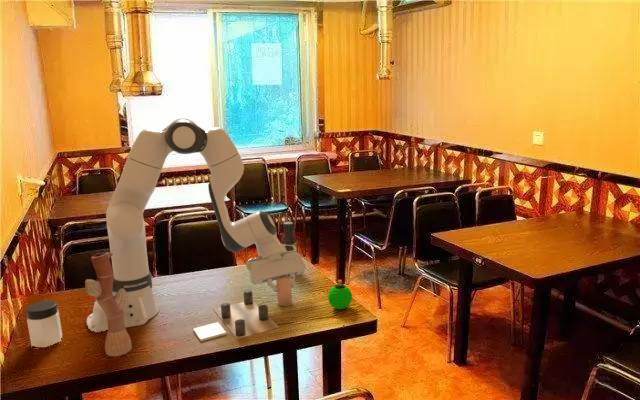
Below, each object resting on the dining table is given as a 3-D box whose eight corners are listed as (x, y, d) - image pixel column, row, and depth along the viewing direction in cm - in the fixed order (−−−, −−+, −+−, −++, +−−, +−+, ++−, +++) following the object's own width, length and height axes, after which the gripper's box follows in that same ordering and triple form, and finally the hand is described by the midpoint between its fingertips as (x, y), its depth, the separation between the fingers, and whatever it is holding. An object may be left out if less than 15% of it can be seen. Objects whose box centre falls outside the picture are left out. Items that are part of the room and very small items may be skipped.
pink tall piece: (133, 341, 154) (121, 247, 147) (134, 352, 148) (122, 254, 141) (95, 349, 151) (81, 252, 144) (95, 361, 144) (80, 260, 137)
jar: (56, 332, 161) (51, 297, 159) (68, 340, 156) (62, 304, 154) (26, 344, 155) (19, 307, 152) (37, 352, 150) (31, 314, 147)
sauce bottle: (295, 273, 205) (293, 225, 201) (280, 272, 206) (278, 225, 202) (299, 267, 211) (297, 221, 207) (285, 266, 213) (282, 220, 208)
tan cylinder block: (281, 307, 174) (280, 282, 172) (275, 302, 178) (273, 278, 176) (294, 304, 176) (293, 279, 174) (288, 299, 181) (286, 275, 179)
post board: (236, 340, 154) (235, 325, 153) (213, 310, 175) (212, 297, 173) (279, 328, 160) (278, 314, 159) (252, 301, 181) (251, 288, 180)
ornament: (349, 314, 167) (348, 286, 165) (325, 312, 170) (324, 284, 167) (354, 304, 175) (354, 277, 173) (332, 302, 177) (331, 275, 175)
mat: (200, 341, 153) (200, 339, 153) (193, 330, 160) (193, 328, 159) (226, 334, 157) (226, 332, 156) (218, 324, 163) (217, 322, 163)
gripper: (246, 255, 174) (259, 292, 168) (299, 245, 184) (313, 279, 178) (242, 264, 179) (254, 300, 173) (294, 253, 189) (307, 286, 183)
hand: (284, 289), depth 176 cm, fingers closed on tan cylinder block, 5 cm apart
